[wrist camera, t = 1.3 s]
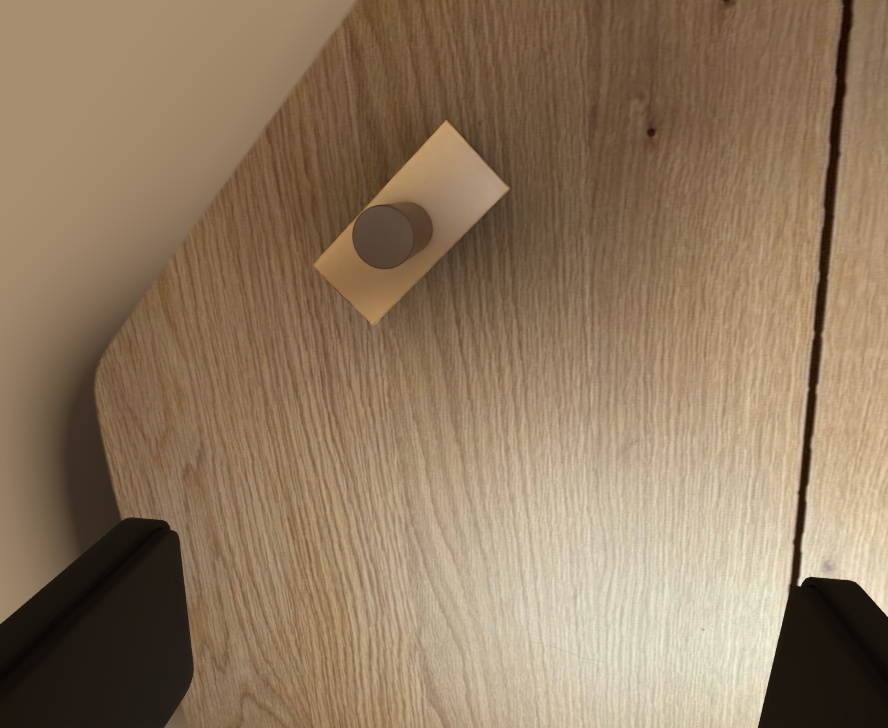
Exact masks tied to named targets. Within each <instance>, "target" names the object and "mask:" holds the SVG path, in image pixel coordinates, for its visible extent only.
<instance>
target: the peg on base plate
mask: <svg viewBox="0 0 888 728" xmlns="http://www.w3.org/2000/svg"><path fill="white" fill-rule="evenodd" d="M509 190H510V188H509V187H508V185H507V184H506V183H505V182H504V181H503V180H502V179H501V178H500V177H499V176H498V175H497V174H496V173H495V171H494V170H493V169H492V168H491V167H490V166H489V165H488V164H487V163H486V162H485V161H484V160H483V158H482V157H481V156H480V155H479V154H478V153H477V152H476V151H475V150H474V149H473V148H472V147H471V146H470V144H469V143H468V142H467V141H466V140H465V139H464V138H463V137H462V136H461V135H460V134H459V133H458V131H457V130H456V129H455V128H454V127H453V126H452V125H451V124H450V123H449V122H448V121H447V120H445V121H444V122H443V124H442V125H441V126H440V127H439V128H438V129H437V130H436V131H435V132H434V133H433V134H432V136H431V137H430V138H429V139H428V140H427V141H426V142H425V143H424V144H423V145H422V146H421V147H420V149H419V150H418V151H417V152H416V153H415V154H414V155H413V156H412V157H411V158H410V159H409V161H408V162H407V163H406V164H405V165H404V166H403V167H402V168H401V169H400V170H399V171H398V172H397V174H396V175H395V176H394V177H393V178H392V179H391V180H390V181H389V182H388V183H387V184H386V186H385V187H384V188H383V189H382V190H381V191H380V192H379V193H378V194H377V195H376V196H375V197H374V199H373V200H372V201H371V202H370V203H369V204H368V205H367V206H366V207H365V208H364V209H363V211H362V212H361V213H360V214H359V215H358V216H357V217H356V218H355V219H354V220H353V221H352V222H351V224H350V225H349V226H348V227H347V228H346V229H345V230H344V231H343V232H342V233H341V234H340V236H339V237H338V238H337V239H336V240H335V241H334V242H333V243H332V244H331V245H330V246H329V247H328V249H327V250H326V251H325V252H324V253H323V254H322V255H321V256H320V257H319V258H318V259H317V261H316V262H315V263H314V264H313V267H314V268H315V269H316V270H317V271H318V272H319V273H320V274H321V275H322V276H323V277H324V278H325V279H326V280H327V281H328V282H329V283H330V284H331V285H332V286H333V287H334V288H335V289H336V290H337V291H338V292H339V293H340V294H341V295H342V296H343V297H344V298H345V299H346V300H347V301H349V302H350V303H351V304H352V305H353V306H354V307H355V308H356V309H357V310H358V311H359V312H360V313H361V314H362V315H363V316H364V317H365V318H366V319H367V320H368V321H369V322H370V323H371V324H372V325H373V326H374V325H375V324H376V323H377V322H378V321H379V320H380V319H381V318H382V317H383V316H384V315H385V314H386V313H387V312H388V311H389V310H390V309H391V308H392V307H393V306H394V305H395V304H396V303H397V302H398V301H399V300H400V299H401V298H402V297H403V296H404V295H405V294H406V293H407V292H408V291H409V290H410V289H411V288H412V287H413V286H414V285H415V284H416V283H417V282H418V281H419V280H420V279H421V278H422V277H423V276H424V275H425V274H426V273H427V272H428V271H429V270H430V269H431V268H432V267H433V266H434V265H435V264H436V263H437V262H438V261H439V260H440V259H441V258H442V257H443V256H444V255H445V254H446V253H447V252H448V251H449V250H450V249H451V248H452V247H453V246H454V245H455V244H456V243H457V242H458V241H459V240H460V239H461V238H462V237H463V236H464V235H465V234H466V233H467V232H468V231H469V230H470V229H471V228H472V227H473V226H474V225H475V224H476V223H477V222H478V221H479V220H480V219H481V218H482V217H483V216H484V215H485V214H486V213H487V212H488V211H489V210H490V209H491V208H492V207H493V206H494V205H495V204H496V203H497V202H498V201H499V200H500V199H501V198H502V197H503V196H504V195H505V194H506V193H507V192H508V191H509Z"/></svg>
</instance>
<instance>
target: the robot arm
mask: <svg viewBox="0 0 888 728" xmlns="http://www.w3.org/2000/svg"><path fill="white" fill-rule="evenodd" d="M193 670H194V667H193V656H192V647H191V638H190V630H189V621H188V612H187V603H186V594H185V585H184V576H183V568H182V559H181V550H180V541H179V536H178V534H177V532H175V531H173V530H170V526H169V525H168V523H167V522H166V521H164V520H155V519H144V518H132V517H131V518H126V519H124V520H123V521H121V522H120V523H119V524H118V525H117V526H115V527H114V528H113V529H112V530H111V531H110V532H108V533H107V534H106V535H105V536H104V537H102V538H101V539H100V540H99V541H98V542H96V543H95V544H94V545H93V546H92V547H91V548H89V549H88V550H87V551H86V552H85V553H84V554H82V555H81V556H80V557H79V558H78V559H77V560H75V561H74V562H73V563H72V564H71V565H69V566H68V567H67V568H66V569H65V570H64V571H63V572H61V573H60V574H59V575H58V576H57V577H55V578H54V579H53V580H52V581H51V582H49V584H47V585H46V586H45V587H44V588H42V589H41V590H40V591H39V592H38V593H37V594H35V595H34V596H33V597H32V598H31V599H29V600H28V601H27V602H26V603H25V604H24V605H22V606H21V607H20V608H19V609H18V610H17V611H15V612H14V613H13V614H12V615H11V616H10V617H9V618H7V619H6V620H5V621H4V622H2V623H1V624H0V728H164V727H165V726H166V724H167V722H168V721H169V719H170V718H171V716H172V715H173V713H174V711H175V710H176V708H177V707H178V705H179V704H180V702H181V701H182V699H183V698H184V696H185V694H186V693H187V691H188V689H189V686H190V684H191V681H192V677H193ZM758 728H888V617H887V616H886V615H885V613H884V612H883V611H882V610H881V609H880V608H879V607H878V606H877V605H876V603H875V602H874V601H873V600H872V599H871V598H870V597H869V596H868V594H867V593H866V592H865V591H864V590H863V589H862V588H861V587H860V586H859V585H858V584H857V583H856V582H853V581H850V580H840V579H829V578H817V577H809V578H806V579H805V580H804V581H803V583H802V585H801V586H795V587H793V588H792V589H791V591H790V593H789V597H788V601H787V605H786V609H785V614H784V618H783V622H782V627H781V631H780V635H779V639H778V644H777V648H776V652H775V657H774V661H773V665H772V669H771V674H770V678H769V682H768V687H767V691H766V695H765V699H764V704H763V708H762V712H761V717H760V721H759V725H758Z"/></svg>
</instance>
